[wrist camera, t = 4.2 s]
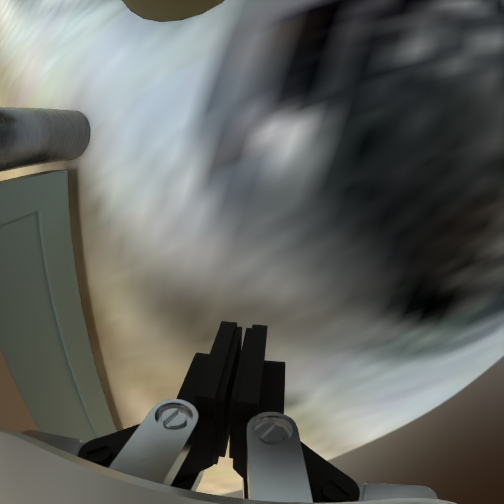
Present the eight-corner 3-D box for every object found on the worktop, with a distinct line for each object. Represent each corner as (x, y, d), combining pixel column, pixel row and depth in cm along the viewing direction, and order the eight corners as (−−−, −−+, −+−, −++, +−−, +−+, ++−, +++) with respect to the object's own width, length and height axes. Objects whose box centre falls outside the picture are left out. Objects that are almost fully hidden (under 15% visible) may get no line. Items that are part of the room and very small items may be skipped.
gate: (46, 170, 12) (-97, 210, 5) (70, 169, 12) (-83, 210, 4) (107, 444, 18) (64, 524, 11) (126, 450, 18) (86, 534, 11)
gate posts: (91, 107, 12) (-93, 104, 3) (142, 461, 20) (103, 553, 11) (54, 114, 12) (-113, 124, 3) (115, 453, 20) (72, 540, 11)
